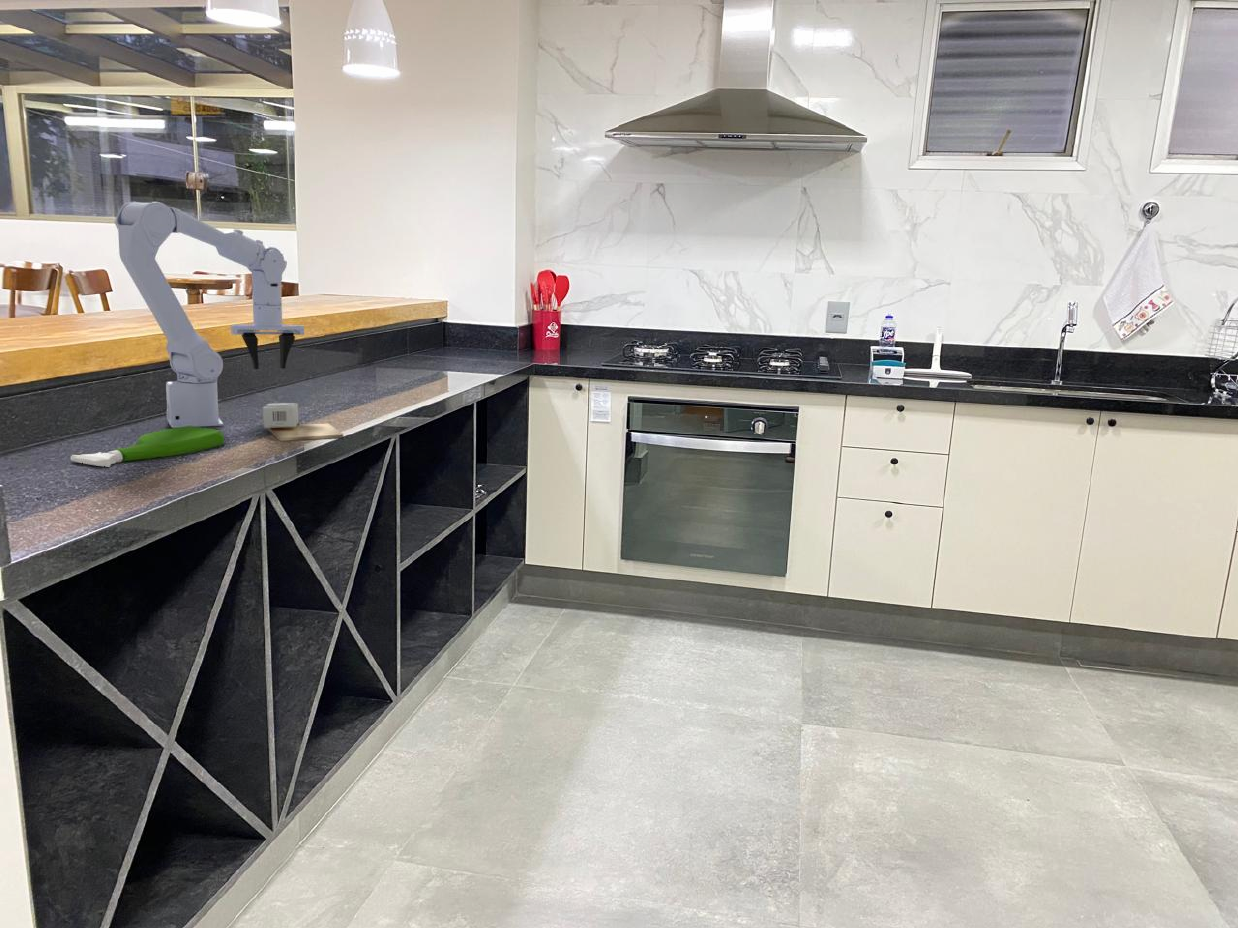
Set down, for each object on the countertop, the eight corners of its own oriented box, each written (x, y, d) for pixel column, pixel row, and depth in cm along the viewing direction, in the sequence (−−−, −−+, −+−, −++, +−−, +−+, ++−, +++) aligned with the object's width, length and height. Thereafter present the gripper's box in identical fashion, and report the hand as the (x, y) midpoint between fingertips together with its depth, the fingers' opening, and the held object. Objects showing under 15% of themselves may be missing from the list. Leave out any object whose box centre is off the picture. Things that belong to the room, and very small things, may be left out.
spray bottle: (230, 446, 164) (112, 475, 141) (185, 439, 168) (64, 466, 145) (229, 431, 163) (110, 457, 141) (184, 424, 167) (62, 448, 145)
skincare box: (295, 428, 175) (299, 422, 187) (294, 406, 175) (298, 402, 186) (262, 428, 174) (268, 423, 185) (261, 407, 173) (267, 403, 184)
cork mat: (280, 440, 169) (280, 437, 169) (267, 429, 179) (267, 426, 179) (343, 437, 175) (343, 434, 175) (328, 426, 185) (328, 423, 185)
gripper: (233, 305, 180) (236, 371, 183) (307, 306, 188) (308, 370, 191) (228, 302, 186) (231, 366, 189) (299, 304, 194) (301, 365, 197)
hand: (269, 368), depth 191 cm, fingers open, 5 cm apart
